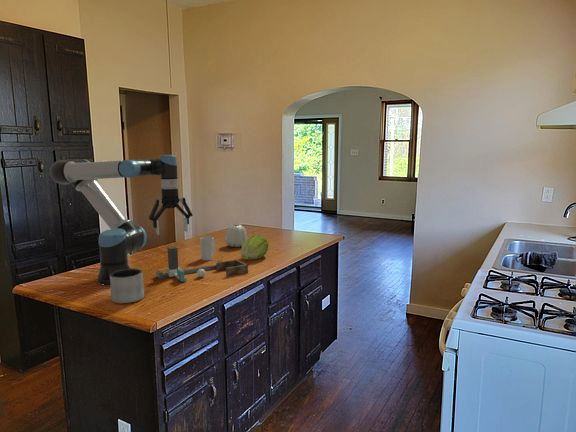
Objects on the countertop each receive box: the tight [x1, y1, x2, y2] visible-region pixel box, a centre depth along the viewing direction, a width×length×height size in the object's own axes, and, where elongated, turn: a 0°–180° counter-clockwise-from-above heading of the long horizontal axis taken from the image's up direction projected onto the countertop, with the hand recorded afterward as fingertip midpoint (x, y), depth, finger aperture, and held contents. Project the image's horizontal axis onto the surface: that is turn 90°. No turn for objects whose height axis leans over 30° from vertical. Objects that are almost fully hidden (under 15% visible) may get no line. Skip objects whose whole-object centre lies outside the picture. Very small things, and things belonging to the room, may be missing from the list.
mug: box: [199, 236, 216, 261], centre depth 231 cm, size 10×7×12 cm, turn 145°
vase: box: [224, 224, 249, 248], centre depth 260 cm, size 14×14×13 cm
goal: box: [215, 259, 249, 278], centre depth 206 cm, size 11×12×4 cm
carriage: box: [165, 246, 187, 283], centre depth 195 cm, size 6×15×13 cm, turn 34°
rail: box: [155, 260, 223, 280], centre depth 205 cm, size 33×5×3 cm, turn 124°
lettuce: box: [240, 234, 269, 261], centre depth 230 cm, size 13×22×14 cm
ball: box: [196, 269, 206, 278], centre depth 197 cm, size 4×4×4 cm
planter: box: [110, 268, 145, 304], centre depth 168 cm, size 12×13×11 cm
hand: (172, 233), depth 197 cm, fingers open, 13 cm apart
